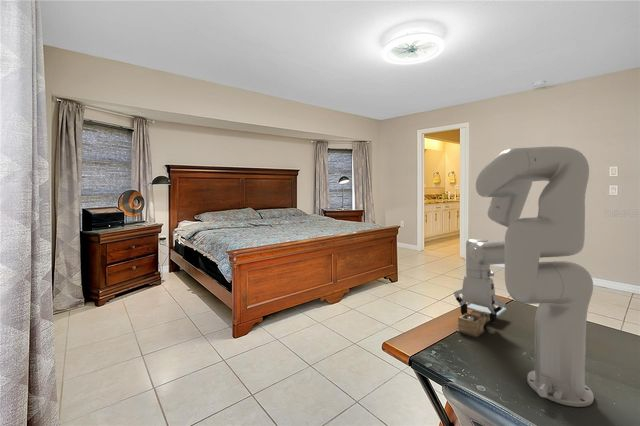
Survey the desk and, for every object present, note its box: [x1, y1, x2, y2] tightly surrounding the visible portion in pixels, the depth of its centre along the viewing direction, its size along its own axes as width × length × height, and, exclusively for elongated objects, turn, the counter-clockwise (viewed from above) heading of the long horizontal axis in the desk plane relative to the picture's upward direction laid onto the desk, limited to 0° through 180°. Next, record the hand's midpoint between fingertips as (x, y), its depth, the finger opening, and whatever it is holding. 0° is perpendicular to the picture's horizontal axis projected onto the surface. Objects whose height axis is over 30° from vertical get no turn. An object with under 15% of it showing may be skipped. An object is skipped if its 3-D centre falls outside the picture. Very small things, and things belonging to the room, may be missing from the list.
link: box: [457, 309, 490, 336], centre depth 107 cm, size 18×6×5 cm, turn 130°
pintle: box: [455, 316, 486, 338], centre depth 103 cm, size 7×7×5 cm
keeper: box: [467, 303, 507, 318], centre depth 113 cm, size 9×11×4 cm
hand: (478, 319), depth 107 cm, fingers open, 9 cm apart
